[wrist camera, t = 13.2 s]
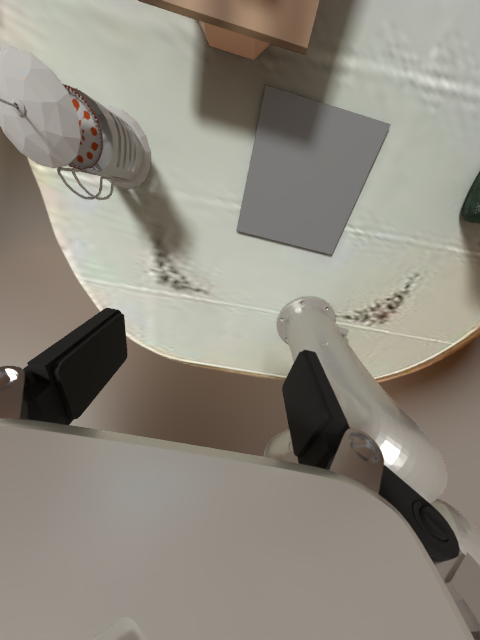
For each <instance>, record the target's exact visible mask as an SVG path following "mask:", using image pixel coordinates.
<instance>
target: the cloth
mask: <svg viewBox="0 0 480 640" xmlns="http://www.w3.org/2000/svg"><path fill="white" fill-rule="evenodd" d="M138 1H140V2H143V3H146V4H149V5H153V6H156V7H159V8H162V9H165V10H168V11H171V12H174V13H177V14H180V15H183V16H186V17H189V18H193V19H196V20H199V21H202V22H205V23H208V24H211V25H214V26H217V27H220V28H223V29H226V30H229V31H233V32H236V33H239V34H242V35H245V36H248V37H251V38H254V39H257V40H260V41H263V42H266V43H270V44H273V45H276V46H279V47H282V48H285V49H288V50H291V51H294V52H297V53H300V54H303V55H305V53H306V51H307V48H308V44H309V40H310V36H311V32H312V28H313V24H314V20H315V16H316V12H317V9H318V5H319V1H320V0H138Z"/></svg>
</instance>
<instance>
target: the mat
mask: <svg viewBox="0 0 480 640" xmlns="http://www.w3.org/2000/svg"><path fill="white" fill-rule="evenodd" d="M390 125H391V124H388V123H385V122H382V121H379V120H375V119H372V118H369V117H366V116H363V115H359V114H356V113H353V112H350V111H347V110H344V109H340V108H337V107H334V106H331V105H328V104H324V103H321V102H318V101H315V100H312V99H309V98H305V97H302V96H299V95H296V94H293V93H289V92H286V91H283V90H280V89H277V88H274V87H270V86H267V85H265V90H264V95H263V100H262V106H261V111H260V116H259V121H258V126H257V131H256V136H255V141H254V146H253V151H252V156H251V161H250V166H249V171H248V176H247V181H246V186H245V191H244V196H243V201H242V206H241V211H240V216H239V221H238V226H237V231H240V232H243V233H247V234H251V235H255V236H259V237H263V238H267V239H271V240H275V241H279V242H283V243H287V244H291V245H295V246H299V247H303V248H307V249H311V250H315V251H319V252H323V253H327V254H331V255H332V253H333V251H334V249H335V246H336V244H337V242H338V240H339V238H340V235H341V233H342V231H343V229H344V226H345V224H346V222H347V220H348V218H349V215H350V213H351V211H352V209H353V207H354V204H355V202H356V200H357V198H358V196H359V193H360V191H361V189H362V187H363V184H364V182H365V180H366V178H367V176H368V173H369V171H370V169H371V167H372V165H373V162H374V160H375V158H376V156H377V154H378V151H379V149H380V147H381V145H382V142H383V140H384V138H385V136H386V134H387V131H388V129H389V127H390Z"/></svg>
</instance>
